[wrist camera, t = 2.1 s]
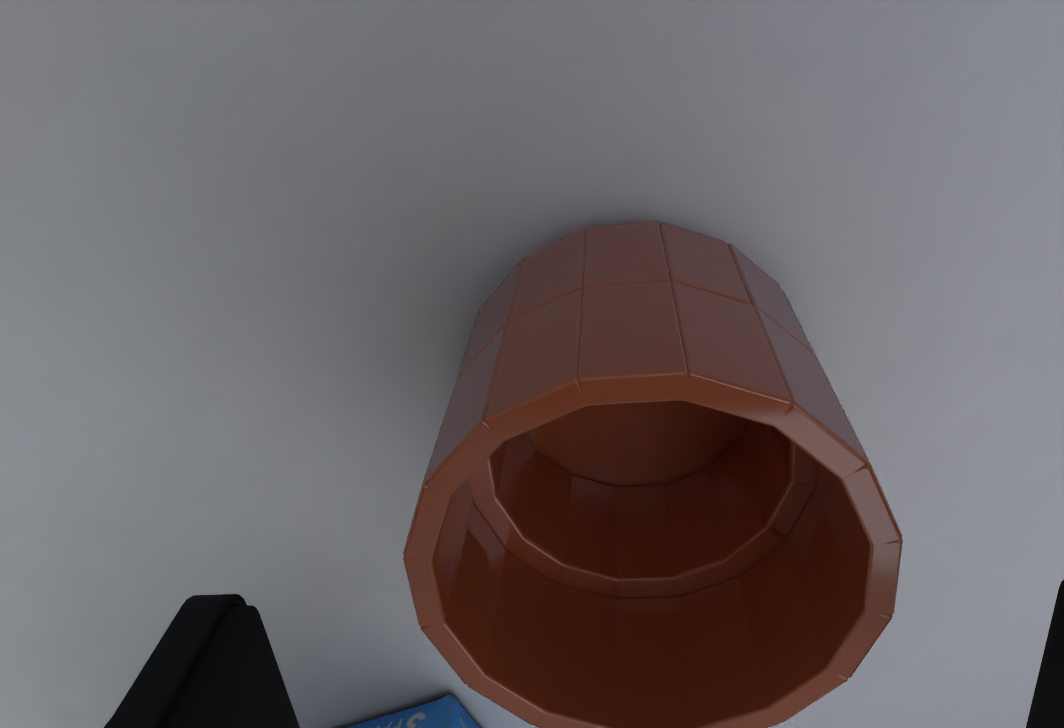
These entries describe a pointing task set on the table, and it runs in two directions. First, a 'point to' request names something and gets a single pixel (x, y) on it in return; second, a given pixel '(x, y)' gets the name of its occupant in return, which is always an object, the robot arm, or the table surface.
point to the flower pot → (648, 496)
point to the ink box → (425, 716)
